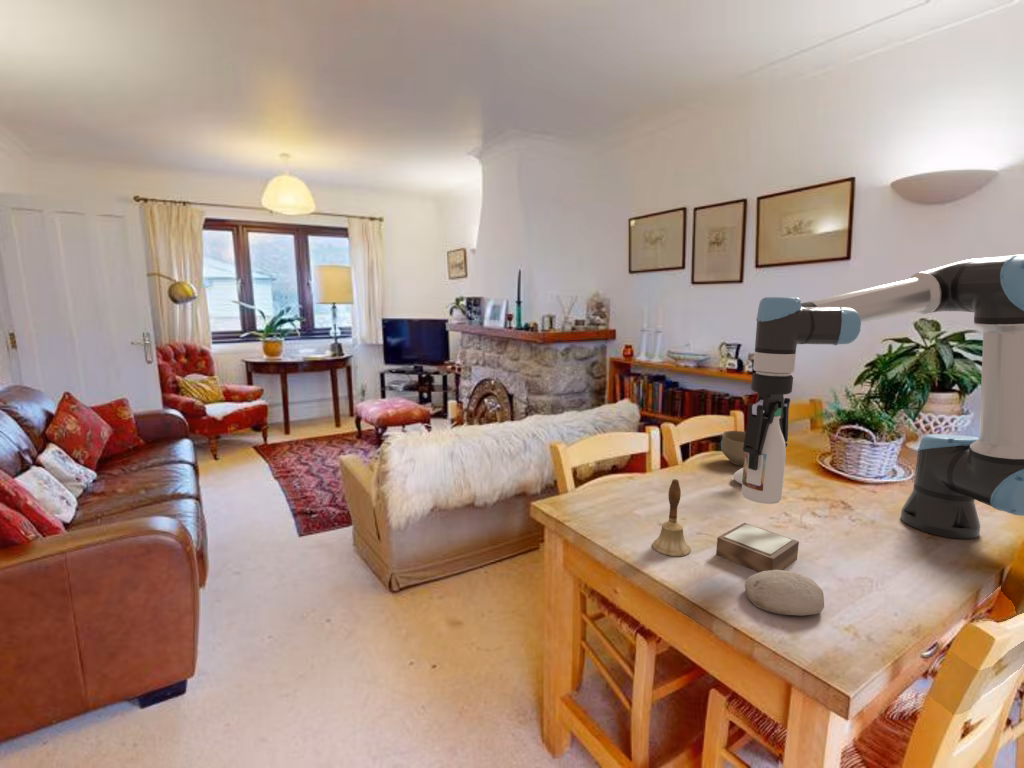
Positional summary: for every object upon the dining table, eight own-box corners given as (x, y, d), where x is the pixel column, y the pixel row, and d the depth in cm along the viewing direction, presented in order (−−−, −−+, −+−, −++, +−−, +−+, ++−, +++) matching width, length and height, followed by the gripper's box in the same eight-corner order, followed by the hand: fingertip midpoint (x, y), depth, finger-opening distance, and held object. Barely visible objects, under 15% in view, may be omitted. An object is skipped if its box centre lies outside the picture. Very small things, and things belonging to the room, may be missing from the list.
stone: (745, 623, 96) (744, 603, 91) (744, 573, 103) (743, 553, 98) (825, 635, 91) (828, 615, 86) (818, 582, 98) (821, 561, 93)
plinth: (797, 558, 111) (799, 540, 110) (771, 577, 103) (773, 557, 103) (743, 538, 120) (744, 521, 119) (716, 554, 113) (717, 536, 112)
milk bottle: (772, 491, 113) (780, 403, 110) (787, 505, 105) (797, 411, 102) (736, 490, 114) (743, 402, 110) (748, 504, 106) (756, 409, 103)
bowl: (739, 471, 166) (742, 442, 165) (711, 460, 178) (713, 432, 176) (769, 467, 171) (771, 438, 169) (739, 456, 183) (742, 429, 181)
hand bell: (648, 538, 120) (651, 473, 117) (684, 539, 120) (688, 474, 117) (657, 556, 112) (661, 487, 109) (695, 557, 111) (700, 487, 109)
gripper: (776, 367, 114) (767, 465, 118) (729, 375, 102) (721, 485, 105) (812, 371, 109) (801, 474, 112) (768, 380, 96) (757, 496, 100)
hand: (762, 479), depth 109 cm, fingers closed on milk bottle, 8 cm apart
